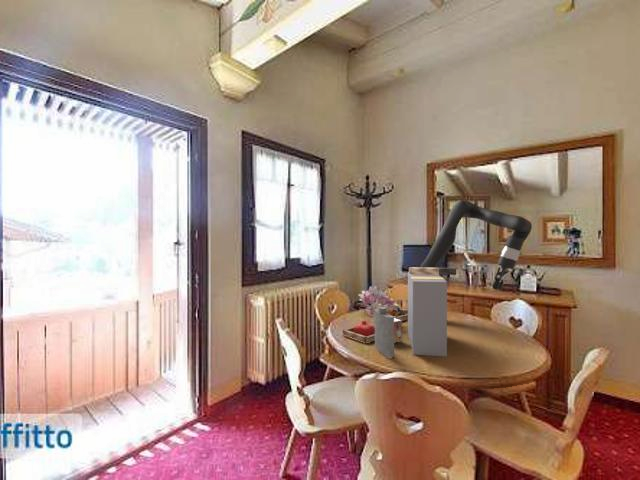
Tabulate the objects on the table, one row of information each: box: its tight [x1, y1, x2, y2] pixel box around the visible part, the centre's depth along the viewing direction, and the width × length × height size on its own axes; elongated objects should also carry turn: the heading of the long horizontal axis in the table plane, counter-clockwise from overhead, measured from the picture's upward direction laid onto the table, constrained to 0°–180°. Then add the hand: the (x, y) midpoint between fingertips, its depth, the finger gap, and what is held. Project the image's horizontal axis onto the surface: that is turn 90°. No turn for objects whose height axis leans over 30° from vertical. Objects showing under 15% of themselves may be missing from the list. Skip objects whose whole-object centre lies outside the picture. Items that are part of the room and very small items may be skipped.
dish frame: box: [342, 325, 375, 344], centre depth 172 cm, size 17×16×3 cm
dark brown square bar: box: [408, 267, 457, 276], centre depth 166 cm, size 22×3×3 cm, turn 79°
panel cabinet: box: [407, 271, 448, 357], centre depth 161 cm, size 14×32×32 cm, turn 169°
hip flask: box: [374, 307, 395, 359], centre depth 150 cm, size 16×4×20 cm, turn 14°
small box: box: [394, 318, 403, 344], centre depth 164 cm, size 8×6×10 cm
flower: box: [357, 285, 398, 327], centre depth 189 cm, size 20×22×25 cm
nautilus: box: [377, 302, 402, 317], centre depth 212 cm, size 8×22×15 cm
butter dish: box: [353, 319, 375, 337], centre depth 172 cm, size 12×12×8 cm
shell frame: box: [363, 307, 408, 322], centre depth 212 cm, size 26×20×3 cm
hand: (496, 289), depth 163 cm, fingers open, 8 cm apart
